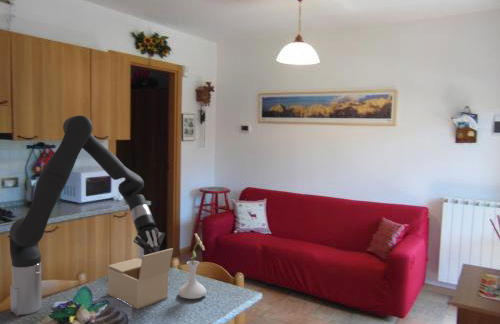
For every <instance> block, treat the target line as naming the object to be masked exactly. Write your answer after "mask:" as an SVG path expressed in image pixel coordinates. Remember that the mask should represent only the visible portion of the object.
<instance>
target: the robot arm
mask: <svg viewBox="0 0 500 324" xmlns="http://www.w3.org/2000/svg"><path fill="white" fill-rule="evenodd" d="M62 130H63V133H64V135H63V138H62V140H61V142H60V144H59V146H58V147H57V149H56V151H55V152H54V153H53V154H52V156H51V157H50V158H49V159H48V160H47V162H46V164H45V166H43V168H42V170H41V173H40V174H39V177H38V178H37V181H36V185H35V187H34V192H33V196H32V202H31V205H30V207H29V210H28V212H27V213H26V215H25V217H24V218H23V217H22V218H19V219H17V220H16V221H14V222H13V223H12V224H11V226H10V228H9V235H8V236H9V253H10V260H11V283H12V284H11V285H9V287H10V288H9V293H10V294H9V296H10V301H9V302H10V312H12V313H13V314H14V315H15V316H23V315H29V314H33V313H36V312H38V311H40V310H41V309H42V304H43V302H42V301H43V300H42V256H41V253H40V249H39V243H40V241H41V240H42V239H43V236H44V234H45V231H46V228H47V225H48V222H49V219H50V217H51V215H52V212H53V211H54V208H55V206H56V204H57V203H58V201H59V198H60V196H61V194H62V193H63V190H65V186H66V184H67V182H68V180H69V178H70V176H71V173H72V172H73V168H74V167H75V163H76V162H77V159H78V157H79V155H80V153H81V151H82V149H83V151H85V152H86V153H87V154H88V155H89V156H90V157H92V159H93V160H94V161H95V162H96V163H97V164H98V165H99V167H101V169H103V170H104V172H106V174H107V175H108V176H109V177H110V178H111V179H112V180H115V181H116V180H117V181H118V180H120V179H124V180H122V181H120V183H119V184H118V187H117V191H118V193H119V194H120V195H121V197H123V199H124V200H125V202H126V203H127V206H128V209H129V210H130V213H131V218H132V222H133V225H134V227H135V230H136V232H137V234H136V236H135V237H134V239H133V243H134V244H137V246H138V245H139V246H140V247H142V248H143V249H145V250H146V249H148V250H150V253H155V252H159V251H160V246H161V245H162V243H163V241H164V238H165V236H166V233H165V232H160V231H159V229H158V228H157V224H156V222H155V219H154V217H153V215H152V212H151V209H150V207H149V206H148V203H147V200H146V197H145V196H144V195H143V194H140V193H138V192H140V191H141V190H143V189H144V187H145V182H144V179H143V178H142V177H141V176H140V175H139V174H138V173H136V172H134V171H132V170H130V169H129V168H128V167H126V166H125V165H124V163H122V161H120V159H119V158H118V157H117V156H116V155H115V154H114V153H113V152H112V151H110V150H109V149H108V148H106V147H105V146H104V145H103V144H102V143H100V141H99V140H98V139H97V138H96V137H95V136H94V135H93V133H92V132H93V123H92V120H90V119H89V117H87V116H85V115H74V116H71V117H68V118H66V120H65V121H64V122H63V125H62ZM137 193H138V194H137ZM158 247H159V249H158Z"/></svg>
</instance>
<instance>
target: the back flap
mask: <svg viewBox="0 0 500 324" xmlns="http://www.w3.org/2000/svg"><path fill="white" fill-rule="evenodd" d="M141 263H142V259H139V258H138V257H135V258H132V259H129V260H124V261H120V262H116V263H112V264H108V266H107V267H108V268H112V269H114V270H117V271H119V272H121V273H124V272H127V271H131V270H134V269H138V268H141Z"/></svg>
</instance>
